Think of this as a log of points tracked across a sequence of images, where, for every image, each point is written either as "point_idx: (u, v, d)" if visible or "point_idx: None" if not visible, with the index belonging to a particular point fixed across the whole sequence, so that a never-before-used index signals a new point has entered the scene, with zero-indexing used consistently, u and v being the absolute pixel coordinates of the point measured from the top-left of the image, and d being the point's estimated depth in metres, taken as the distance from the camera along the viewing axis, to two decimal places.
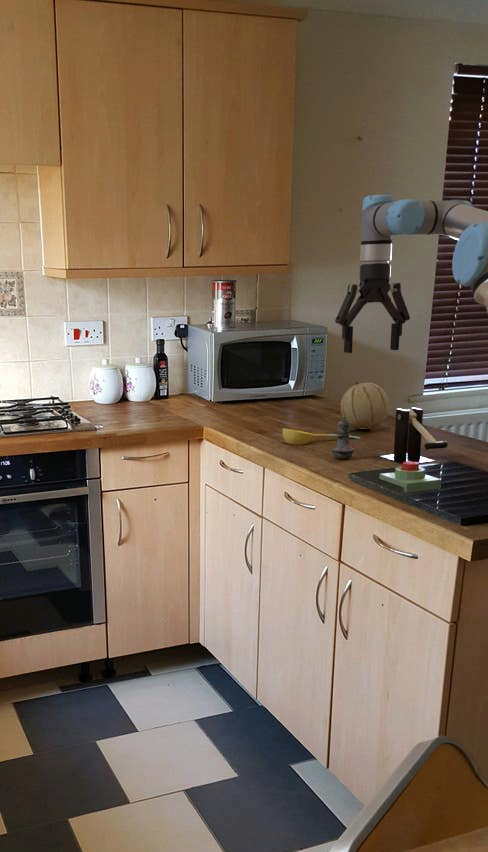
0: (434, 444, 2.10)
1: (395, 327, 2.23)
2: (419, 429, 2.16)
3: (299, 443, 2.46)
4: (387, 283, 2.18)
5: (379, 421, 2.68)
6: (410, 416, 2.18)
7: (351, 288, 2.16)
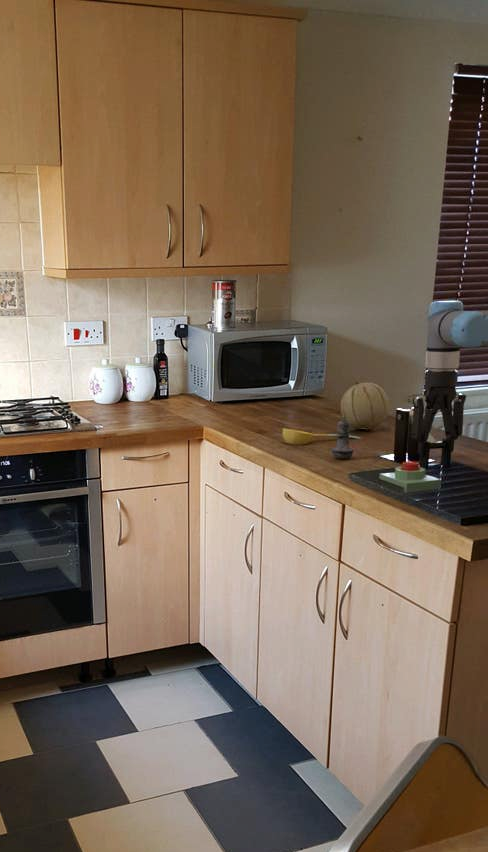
0: (434, 444, 2.10)
1: (447, 443, 2.12)
2: None
3: (299, 443, 2.46)
4: (453, 390, 2.07)
5: (379, 421, 2.68)
6: (410, 416, 2.18)
7: (417, 403, 2.05)
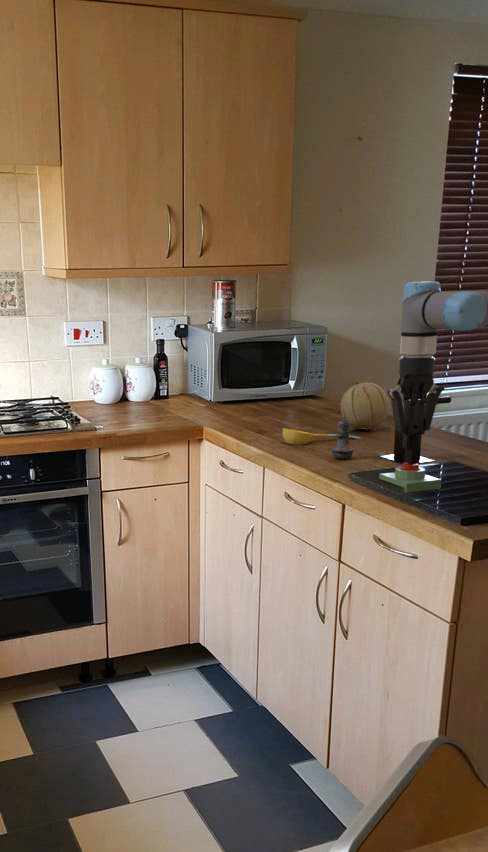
0: None
1: None
2: None
3: (299, 443, 2.46)
4: (430, 378, 1.92)
5: (379, 421, 2.68)
6: None
7: (393, 396, 1.91)
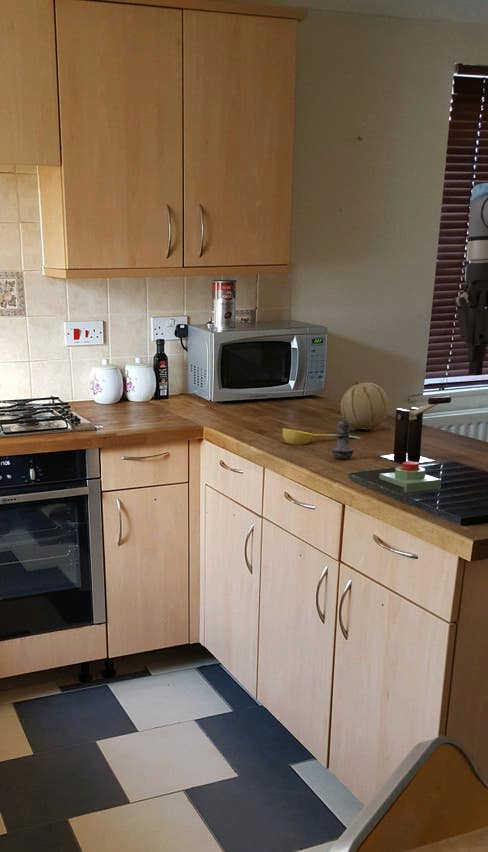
0: (436, 397, 2.07)
1: None
2: (420, 409, 2.14)
3: (299, 443, 2.46)
4: None
5: (379, 421, 2.68)
6: None
7: (459, 303, 1.87)
